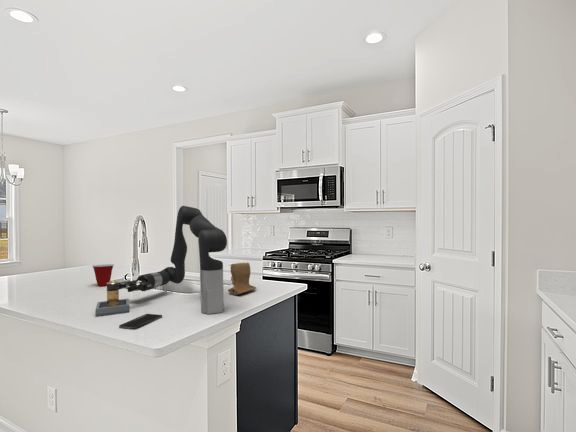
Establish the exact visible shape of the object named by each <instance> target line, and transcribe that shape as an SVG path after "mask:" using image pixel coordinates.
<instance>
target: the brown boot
mask: <svg viewBox="0 0 576 432" xmlns="http://www.w3.org/2000/svg"><path fill="white" fill-rule="evenodd" d="M230 275H231V276H232V277H233V281H234V284H233V286H232V287H230V288H228V289H227V292H228V293H229V294H230V295H233V296H237V295H241V294H245V293H248V292H250V291H253V290H256V289H257V287H256V286H254V285H251V284H250V277H251V265H250V263H249V262H236V263H231V265H230Z"/></svg>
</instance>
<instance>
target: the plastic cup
mask: <svg viewBox="0 0 576 432" xmlns="http://www.w3.org/2000/svg"><path fill="white" fill-rule="evenodd" d="M114 266H115V264H113V263H112V264H111V263H110V264H109V263H107V264H106V263H105V264H93V265H92V268H93V271H94V272H93V273H94V275H95V276H94V277H95V280H96V284H97V287H98V286H99V288H100V287H101V288H102V287H107V283H108V282H111V279H112V278H111V277H112V273H113V268H114Z"/></svg>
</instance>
